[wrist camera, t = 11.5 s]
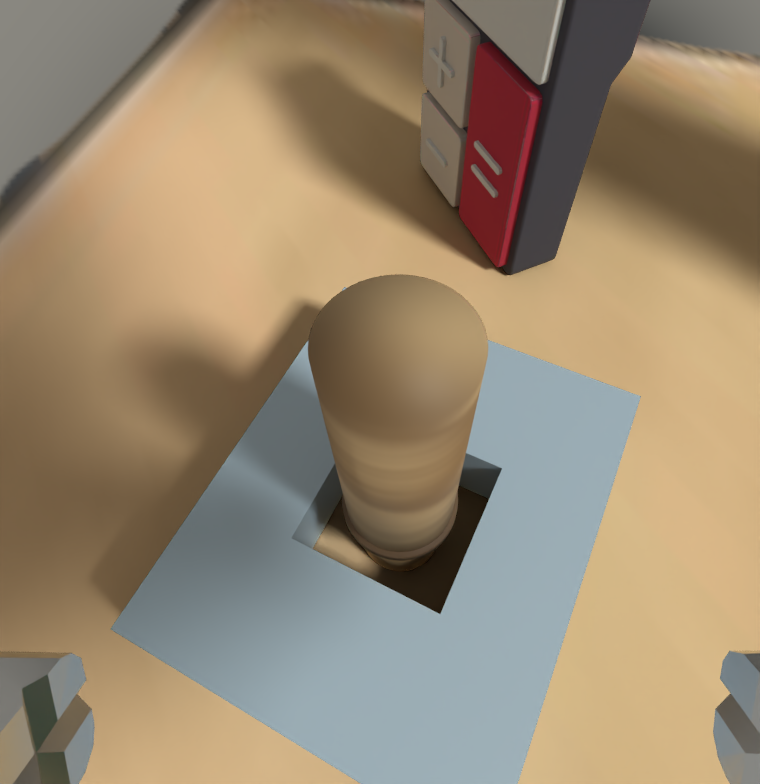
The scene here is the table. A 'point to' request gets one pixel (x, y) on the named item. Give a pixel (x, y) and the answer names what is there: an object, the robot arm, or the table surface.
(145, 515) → the table surface
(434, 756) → the seat board
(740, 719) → the robot arm
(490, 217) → the calculator
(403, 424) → the peg
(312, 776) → the table surface
